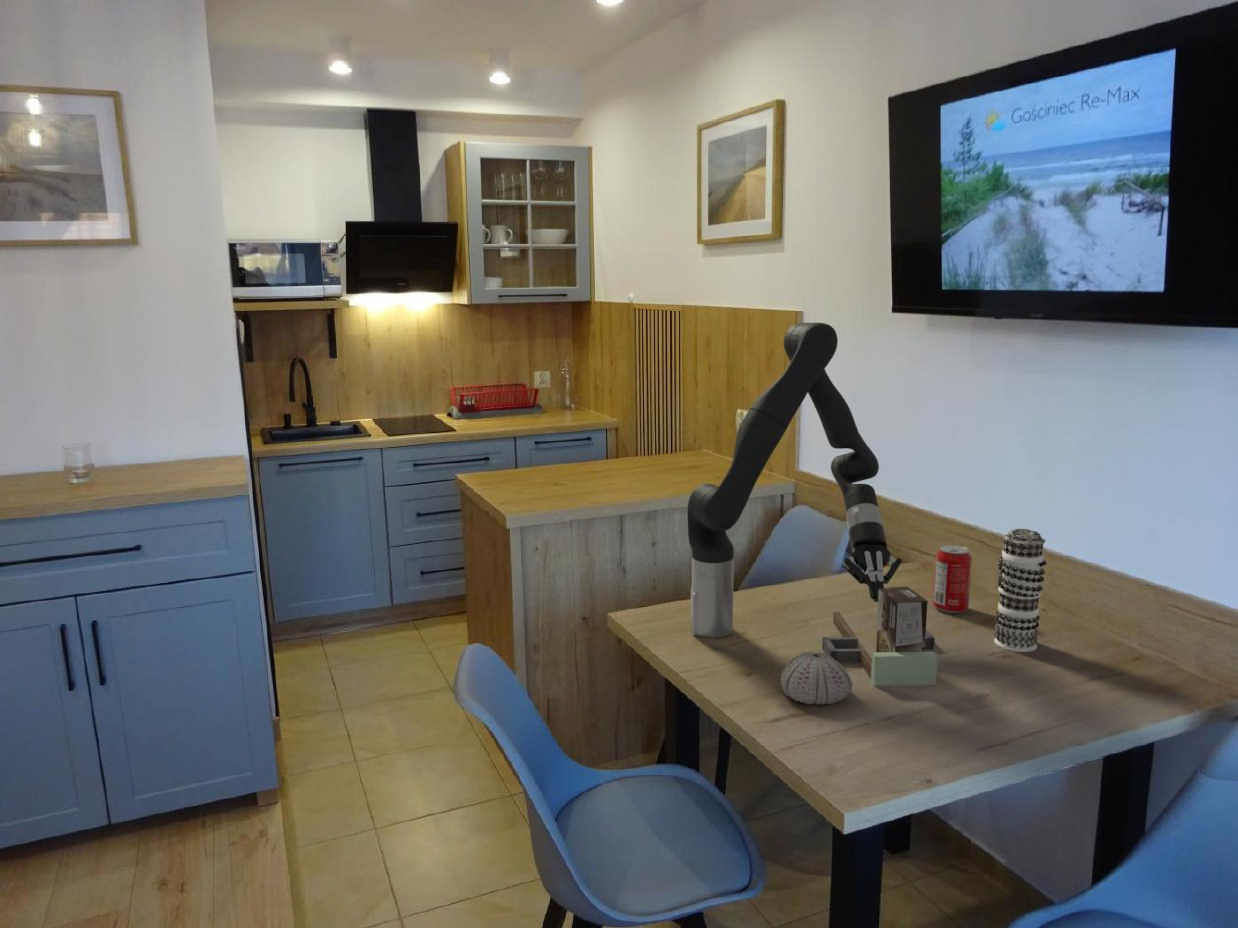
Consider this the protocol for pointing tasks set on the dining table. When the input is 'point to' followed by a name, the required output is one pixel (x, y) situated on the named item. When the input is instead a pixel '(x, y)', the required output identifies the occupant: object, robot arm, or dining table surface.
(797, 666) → the sea urchin shell
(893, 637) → the coffee box
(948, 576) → the soda can
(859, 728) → the dining table surface
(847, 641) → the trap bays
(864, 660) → the walnut lane
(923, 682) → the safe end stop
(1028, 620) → the white grey tall cylinder
